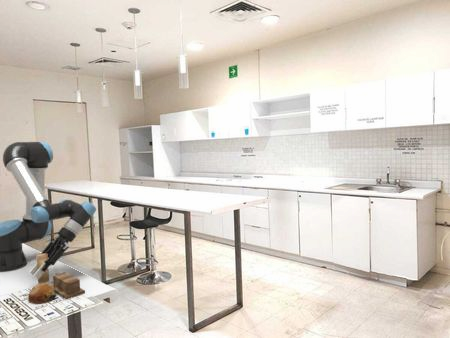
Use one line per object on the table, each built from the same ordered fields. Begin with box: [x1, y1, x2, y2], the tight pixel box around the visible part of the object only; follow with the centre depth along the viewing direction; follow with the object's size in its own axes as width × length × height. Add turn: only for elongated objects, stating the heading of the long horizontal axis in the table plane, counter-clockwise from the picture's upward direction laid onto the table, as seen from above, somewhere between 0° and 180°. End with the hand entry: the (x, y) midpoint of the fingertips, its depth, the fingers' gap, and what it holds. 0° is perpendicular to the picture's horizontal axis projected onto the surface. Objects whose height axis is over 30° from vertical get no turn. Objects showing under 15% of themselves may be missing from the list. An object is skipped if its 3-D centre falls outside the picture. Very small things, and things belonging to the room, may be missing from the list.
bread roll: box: [27, 282, 57, 305], centre depth 141 cm, size 10×10×8 cm
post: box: [35, 253, 50, 284], centre depth 154 cm, size 4×4×12 cm
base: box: [52, 271, 86, 300], centre depth 148 cm, size 16×8×6 cm, turn 49°
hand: (34, 275), depth 151 cm, fingers closed on post, 4 cm apart
